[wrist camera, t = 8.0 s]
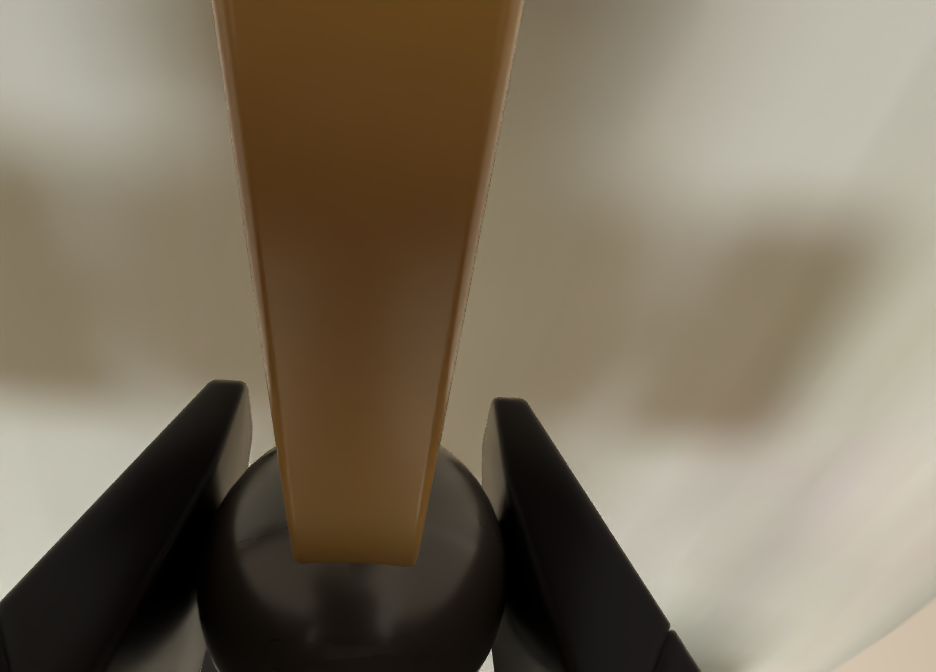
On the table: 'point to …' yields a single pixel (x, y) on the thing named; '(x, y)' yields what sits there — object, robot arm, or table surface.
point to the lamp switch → (359, 334)
